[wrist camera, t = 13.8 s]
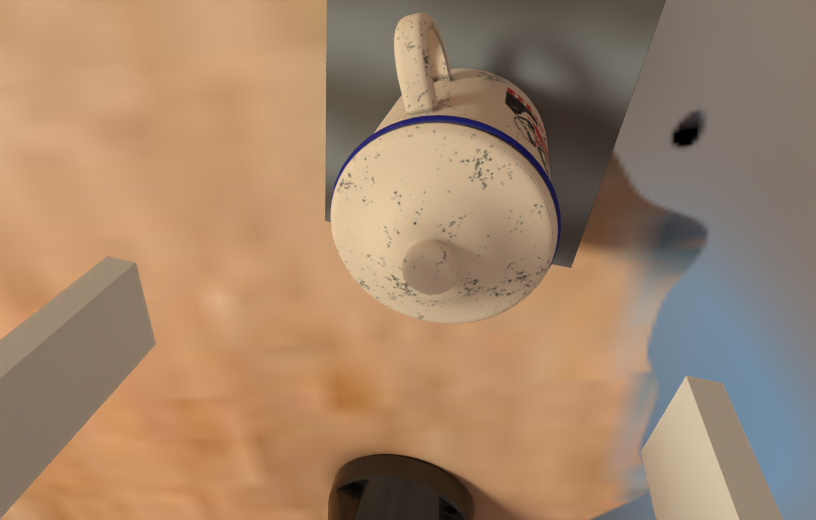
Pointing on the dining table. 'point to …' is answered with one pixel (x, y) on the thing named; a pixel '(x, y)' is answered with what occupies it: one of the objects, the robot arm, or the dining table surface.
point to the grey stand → (511, 59)
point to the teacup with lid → (448, 191)
